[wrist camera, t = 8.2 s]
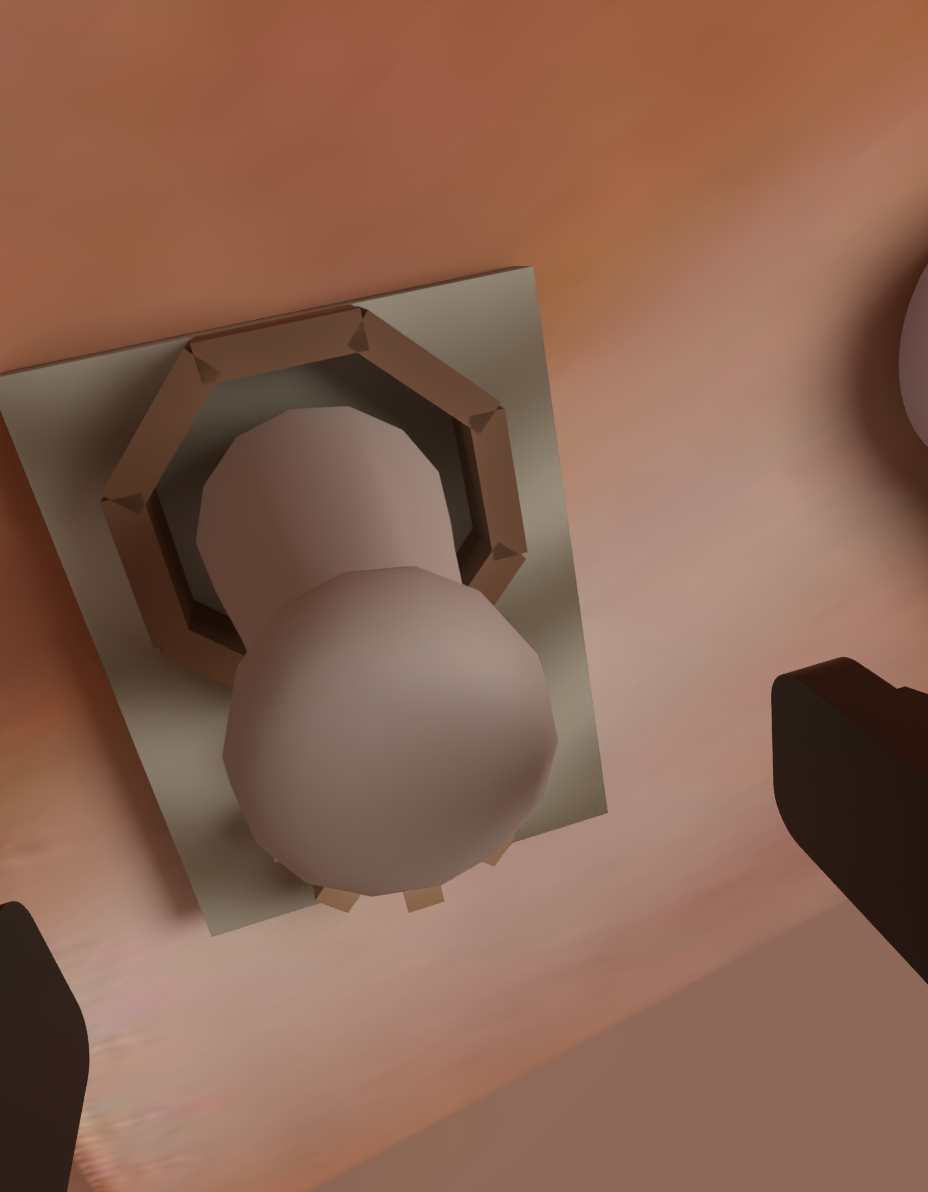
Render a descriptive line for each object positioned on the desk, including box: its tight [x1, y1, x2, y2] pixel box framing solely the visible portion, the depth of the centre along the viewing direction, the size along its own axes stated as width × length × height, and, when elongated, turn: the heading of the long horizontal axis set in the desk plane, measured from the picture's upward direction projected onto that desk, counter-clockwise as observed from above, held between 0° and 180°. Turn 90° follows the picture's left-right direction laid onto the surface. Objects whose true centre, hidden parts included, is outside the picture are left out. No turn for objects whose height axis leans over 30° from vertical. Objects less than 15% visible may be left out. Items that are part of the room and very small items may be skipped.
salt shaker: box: [196, 406, 558, 896], centre depth 16 cm, size 6×6×13 cm
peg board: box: [0, 266, 608, 937], centre depth 22 cm, size 17×13×6 cm
